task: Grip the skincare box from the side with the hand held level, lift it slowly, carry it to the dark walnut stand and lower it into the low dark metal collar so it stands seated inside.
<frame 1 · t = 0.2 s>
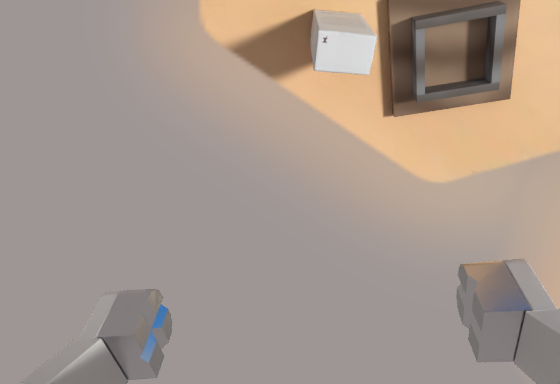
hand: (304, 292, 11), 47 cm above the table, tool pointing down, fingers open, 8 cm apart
skincare box: (335, 28, 53), on the table
collar stand: (449, 49, 53), on the table
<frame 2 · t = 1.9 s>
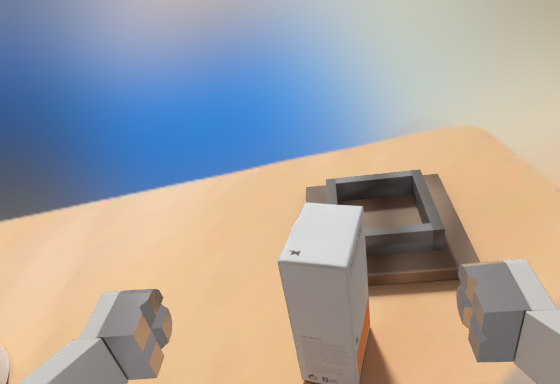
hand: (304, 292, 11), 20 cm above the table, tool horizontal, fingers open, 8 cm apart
skincare box: (338, 352, 32), on the table
collar stand: (379, 229, 43), on the table
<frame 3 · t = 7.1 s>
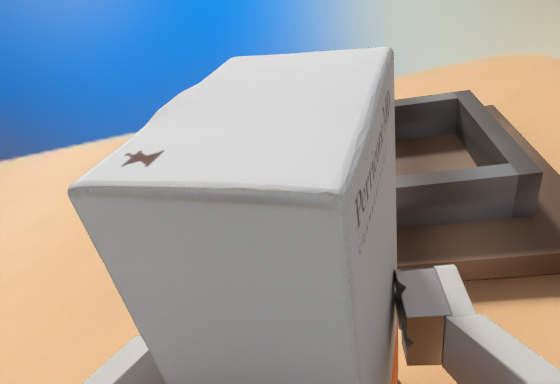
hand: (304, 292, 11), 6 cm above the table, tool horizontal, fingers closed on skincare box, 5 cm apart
collar stand: (403, 189, 25), on the table
when the fingers open (8 cm above the table, at t = 14.6 s): skincare box stays where it is, resting on collar stand.
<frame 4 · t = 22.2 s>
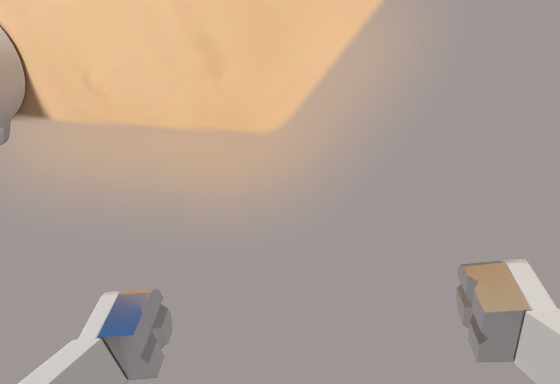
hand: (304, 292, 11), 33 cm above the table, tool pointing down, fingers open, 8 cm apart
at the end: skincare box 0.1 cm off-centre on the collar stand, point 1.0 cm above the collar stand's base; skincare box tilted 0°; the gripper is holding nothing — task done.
